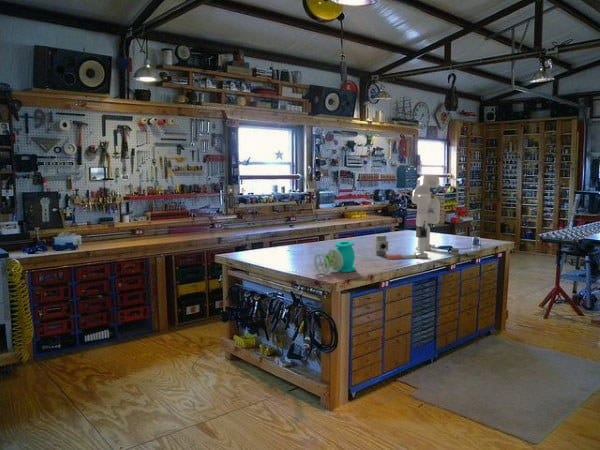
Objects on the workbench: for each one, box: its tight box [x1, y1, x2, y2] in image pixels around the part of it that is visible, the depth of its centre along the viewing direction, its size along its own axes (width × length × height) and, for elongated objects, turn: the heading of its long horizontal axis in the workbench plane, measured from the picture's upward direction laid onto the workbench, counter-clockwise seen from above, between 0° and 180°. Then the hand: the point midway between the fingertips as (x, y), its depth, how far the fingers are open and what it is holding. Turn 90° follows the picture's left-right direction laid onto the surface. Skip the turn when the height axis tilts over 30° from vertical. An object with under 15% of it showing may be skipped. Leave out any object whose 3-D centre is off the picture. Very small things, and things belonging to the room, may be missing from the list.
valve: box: [313, 240, 357, 276], centre depth 324 cm, size 14×18×30 cm
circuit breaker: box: [372, 234, 389, 256], centre depth 389 cm, size 8×14×15 cm, turn 11°
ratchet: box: [384, 248, 429, 260], centre depth 376 cm, size 33×10×7 cm, turn 101°
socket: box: [415, 227, 427, 239], centre depth 377 cm, size 6×6×7 cm
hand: (421, 235), depth 377 cm, fingers closed on socket, 6 cm apart
